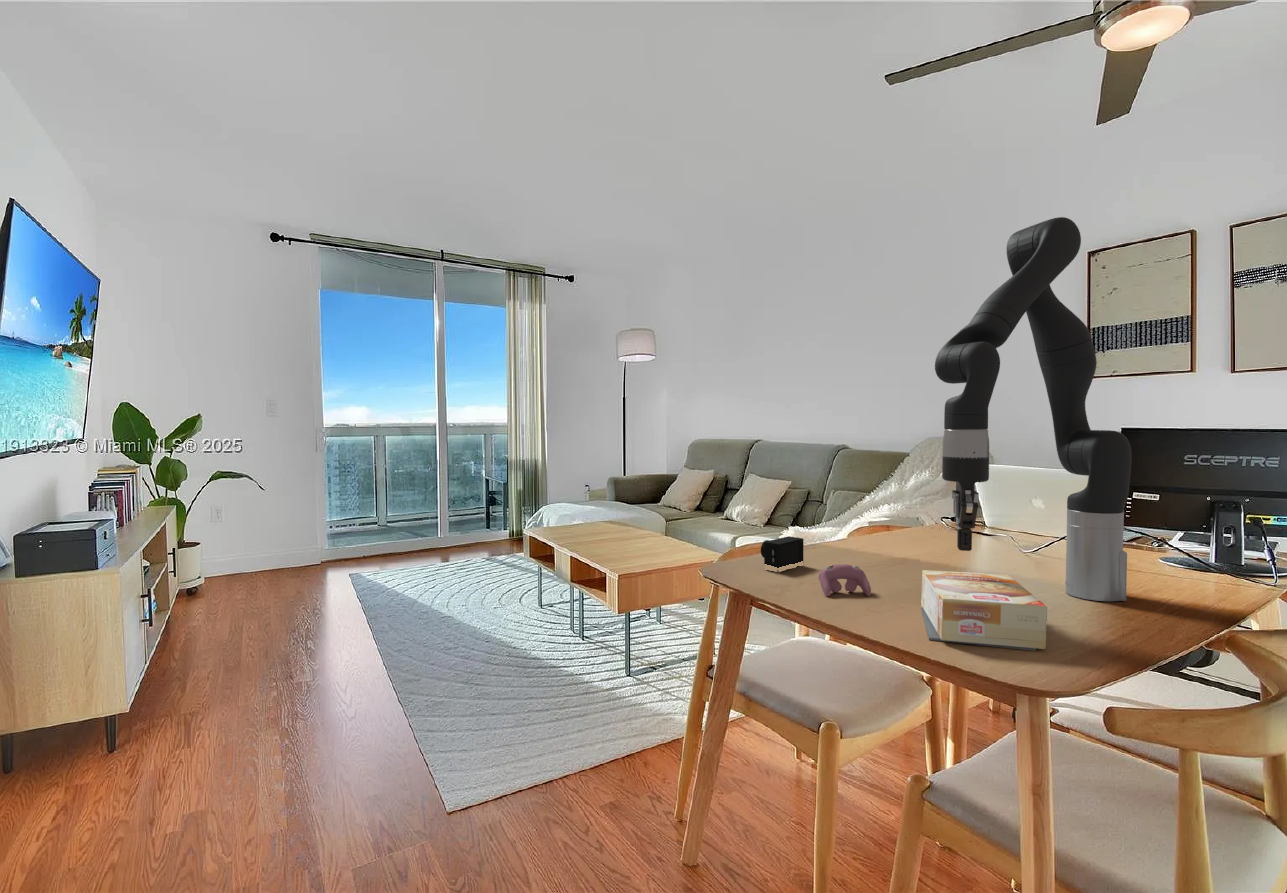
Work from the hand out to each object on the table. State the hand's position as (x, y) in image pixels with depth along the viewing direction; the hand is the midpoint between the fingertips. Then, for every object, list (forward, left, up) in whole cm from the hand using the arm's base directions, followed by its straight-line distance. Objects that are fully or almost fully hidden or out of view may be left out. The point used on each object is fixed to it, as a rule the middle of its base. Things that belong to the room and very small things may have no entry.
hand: (964, 549), depth 113 cm
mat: (-1, +7, -12) cm, 14 cm away
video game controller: (+21, -8, -12) cm, 26 cm away
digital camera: (+36, -27, -12) cm, 47 cm away
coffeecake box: (0, -3, -8) cm, 8 cm away
